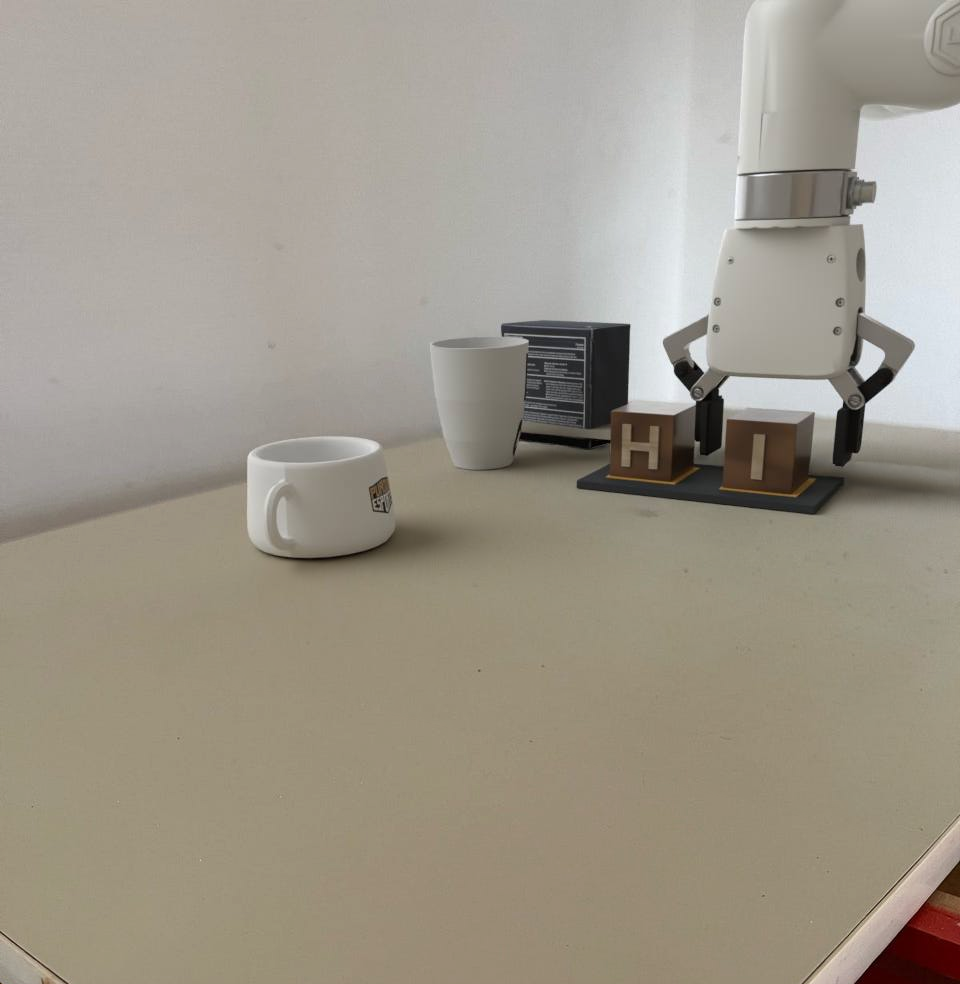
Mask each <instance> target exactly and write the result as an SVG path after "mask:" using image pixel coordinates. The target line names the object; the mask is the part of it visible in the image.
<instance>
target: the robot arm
mask: <svg viewBox="0 0 960 984" xmlns="http://www.w3.org/2000/svg"><path fill="white" fill-rule="evenodd" d="M740 87H741V89H740V105H739V107H740V108H739V127H738V142H737V144H738V145H737V158H736V159H737V163H736V175H737V176H736V179H735V180H736V183H735V199H734V215H733V216H734V217H733V218H734V221H733V227H728V228H727V227H726V228H724V231H723V235H722V238H721V242H720V246H719V250H718V251H719V252H718V255H717V260H716V265H715V271H714V276H713V282H712V288H711V295H710V303H709V311H708V313H707V314H706V315H704V316H702V317H700V318H698V319H696V320H694V321H692V322H691V323H689V324H687V325H684V326H682V327H681V328H679V329H677V330H675V331H674V332H671V333H669V334H668V335H665V336H664V338H663V340H662V345H663V349H664V350H665V353H666V355H667V357H668V359H669V362H670V364H671V365H672V367H673V373H674V375H675V377H676V378H677V379H678V380H679V382H680V383H682V385H683V386H684V387H685V388H686V389H687V390H688V392H689V396H690V398H691V399H692V400H693V401H695V404H696V411H695V435H694V437H695V443H696V442H697V443H699V446H698V447H699V448H698V449H699V450H698V451H699V452H698V453H699V456H704V457H708V456H711V454H713V453H715V452H716V451H718V450H720V449H721V448H722V446H723V445H722V443H723V428H724V426H723V425H724V410H725V409H724V408H725V407H724V406H725V399H724V398H723V395H722V394H721V395H720V389H721V387H722V386H723V385H724V384H726V382H727V381H728V379H730V377H737V378H755V379H778V380H779V379H781V380H807V381H811V380H812V381H824V380H825V381H826V380H827V381H828V382H829V383H830V384H831V386H832V387H833V389H834V390H835V392H837V393H838V394H837V395H839V396H840V398H841V399H842V407H840V408H839V409H838V410H837V412H836V418H835V429H834V439H833V440H834V441H833V450H832V459H831V460H832V462H831V464H832V465H834V467H839V468H844V466H846V465H847V464H848V463H849V462H850V461H851V460H852V458H853V457H852V456H853V454H859V453H860V451H861V448H862V443H863V442H862V440H863V431H864V422H865V414H866V413H865V412H866V404H868V403H869V402H871V400H873V398H875V397H876V396H877V395H878V394H879V393H881V392H882V391H883V390H884V389H885V388H886V387H888V386H889V385H890V384H891V383H893V382H894V381H895V379H896V377H897V376H898V374H899V373H900V371H901V370H902V368H903V367H904V366H905V364H906V363H907V362H908V360H909V358H910V357H911V355H912V354H913V351H915V348H916V343H915V342H914V340H912V339H911V338H909V337H908V336H906V335H904V334H902V333H901V332H898V331H896V330H895V329H893V328H891V327H890V326H888V325H886V324H884V323H883V322H880V321H879V320H877V319H876V318H874V317H872V316H870V315H868V314H866V296H867V295H866V291H867V288H866V287H867V285H866V284H867V263H866V262H867V259H866V257H867V256H866V240H865V231H864V225H863V223H851V218H852V217H851V215H854V214H855V213H854V212H855V210H856V209H857V207H861V206H863V205H865V204H866V205H867V204H874V203H875V201H876V197H877V189H878V188H877V181H876V180H871V181H865V179H863V178H861V179H860V177H859V176H858V171H854V170H856V164H857V163H856V161H857V151H858V141H859V140H858V139H859V131H860V119H863V120H866V121H870V122H886V121H887V122H888V121H893V120H898V119H903V118H907V117H911V116H921V115H925V114H929V113H934V112H939V111H942V110H946V109H949V108H952V107H955V106H957V105H959V104H960V0H754V1H753V2H752V3H751V5H750V7H749V9H748V11H747V15H746V19H745V21H744V33H743V48H742V71H741V86H740ZM705 336H706V344H705V345H706V346H705V353H706V354H705V355H706V356H705V357H706V364H707V366H708V368H707V369H706V370H705V372H704V370H703V369H702V368H701V367H700V366H699V365H698V363H697V362H696V361H695V360H694V359H693V358H692V353H691V352H690V347H691V344H692V343H694V342H697V341H698V340H700V339H703V337H705ZM864 341H867V342H868V343H870V344H871V345H874V346H875V347H877V348H879V349H880V350H881V351H883V352H884V358H883V360H882V362H881V363H880V366H879V367H878V368H877V369H876V371H875V372H874V373H873V374H871V375H870V376H869V377H868V378H867V379H866V380H865V378H863V377H862V375H861V374H860V372H859V371H858V370H857V368H856V367H857V365H859V363H860V361H861V358H862V355H863V347H864Z"/></svg>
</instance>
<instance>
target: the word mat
mask: <svg viewBox="0 0 960 984" xmlns="http://www.w3.org/2000/svg"><path fill="white" fill-rule="evenodd" d="M723 470H724V465H714V464H704V463H703V464H702V463H694V467H693V469H691V470H690V471H688V472H686V473H685V474H683V475H681V476H680V477H678V478H677V479H675V480H673V481H672V482H665V481H655V480H646V479H636V478H626V477H616V476H610V463H608V464H606V465H604V466H602V467H600V468H598V469H596V470H594V471H593V472H591V473H589V474H587V475H585V476H583V477H581V478H579V479H577V480H576V489H583V490H592V491H600V492H601V491H602V492H610V493H620V494H627V495H637V496H638V495H639V496H647V497H654V498H655V497H657V498H664V499H665V498H666V499H674V500H682V501H692V502H700V503H710V504H718V505H727V506H735V507H736V506H737V507H747V508H753V509H754V508H755V509H764V510H773V511H782V512H792V513H798V514H809V515H815V514H816V513H817V512H818V511H819V510H820V509H821V508H822V507H823V506H824V505H825V504H826V503H827V502H828V501H829V500H830V499H831V498H832V497H833V496H834V495H835V494H836V493H837V492H838V491H839V490H840V489H841V488H842V487H843V486H844V485H845V477H843V476H835V475H834V476H833V475H832V476H831V475H824V474H823V475H822V474H810V473H809V479H808V480H807V481H806V482H805V483H803V484H802V485H801V486H800V487H799V488H798V489H797V490H795V491H794V492H793V493H792V494H791V495H790V494H780V493H770V492H761V491H751V490H741V489H731V488H723V487H722V485H723Z"/></svg>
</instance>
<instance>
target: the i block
mask: <svg viewBox="0 0 960 984" xmlns="http://www.w3.org/2000/svg"><path fill="white" fill-rule="evenodd" d="M815 416H816V412H815V411H808V410H806V411H805V410H789V409H776V408H775V409H774V408H759V407H758V408H757V407H747V408H745V409H742V410H741V411H739V412H738V413H735V414H733V415H732V416H730V417H728V418H726V423H725V424H726V425H725V439H724V456H723V466H724V470H723V485H722V487H723V488H731V489H741V490H751V491H761V492H770V493H780V494H790V495H791V494H792V493H793V492H794V491H795V490H797V489H798V488H799V487H800V486H801V485H802V484H803V483H805V482H806V481H807V480H808V479H809V474H810V470H811V469H810V467H811V458H812V449H813V448H812V446H813V439H814V438H813V437H814V427H815V426H814V425H815V418H816V417H815Z"/></svg>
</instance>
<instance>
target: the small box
mask: <svg viewBox="0 0 960 984" xmlns="http://www.w3.org/2000/svg"><path fill="white" fill-rule="evenodd" d="M500 335H501V337H514V338H522V339H526V340H528V341H529V344H528V367H527V391H526V399H525V406H524V413H523V420H522V422H530V423H538V424H545V425H546V424H547V425H551V426H552V425H553V426H560V427H567V428H568V427H569V428H577V429H583V430H584V429H585V430H594V429H597V428H602V427H605V426H609V425H611V411H612V410H615V409H617V408H620V407H622V406H624V405H627V404H629V381H630V351H631V350H630V349H631V340H630V339H631V323H618V322H599V321H598V322H597V321H576V320H575V321H572V320H571V321H570V320H551V319H550V320H549V319H548V320H546V319H545V320H544V319H540V320H527V321H516V322H515V321H514V322H503V323H501V325H500ZM610 440H611V439H606V438H596V437H595V438H594V437H583V436H571V435H561V434H560V435H557V434H550V433H549V434H547V433H546V434H545V433H537V432H536V433H535V432H524V431H523V432H522V431H521V434H520V437H519V441H527V442H533V443H541V444H548V445H555V446H564V447H571V448H578V449H584V450H591V449H594V448H597V447H601V446H605V445H610Z"/></svg>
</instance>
